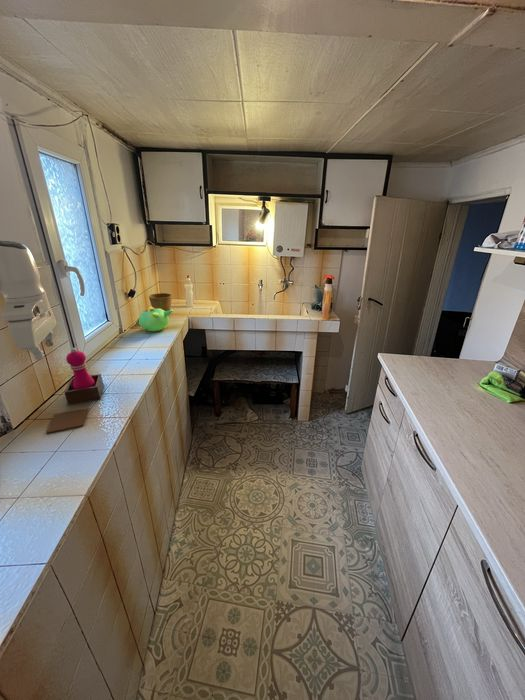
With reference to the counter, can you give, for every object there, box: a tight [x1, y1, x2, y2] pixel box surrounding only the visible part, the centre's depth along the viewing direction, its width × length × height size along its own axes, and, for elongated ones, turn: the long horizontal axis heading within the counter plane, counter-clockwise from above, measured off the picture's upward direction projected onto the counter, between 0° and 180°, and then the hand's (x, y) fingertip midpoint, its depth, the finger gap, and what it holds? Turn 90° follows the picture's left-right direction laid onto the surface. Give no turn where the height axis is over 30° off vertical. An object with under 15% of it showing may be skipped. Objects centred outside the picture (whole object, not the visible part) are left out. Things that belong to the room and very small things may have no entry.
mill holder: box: [64, 373, 105, 406], centre depth 109 cm, size 11×11×6 cm
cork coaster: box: [46, 407, 89, 435], centre depth 95 cm, size 10×10×1 cm
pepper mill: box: [65, 347, 95, 390], centre depth 106 cm, size 7×7×20 cm
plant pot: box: [148, 292, 173, 318], centre depth 196 cm, size 15×15×16 cm
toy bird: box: [138, 305, 174, 332], centre depth 173 cm, size 18×17×15 cm
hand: (45, 351), depth 82 cm, fingers open, 8 cm apart
